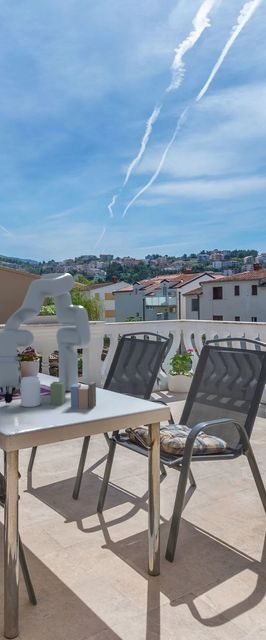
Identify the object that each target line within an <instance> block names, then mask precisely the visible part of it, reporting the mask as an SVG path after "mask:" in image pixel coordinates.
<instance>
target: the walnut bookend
mask: <svg viewBox="0 0 266 640" xmlns="http://www.w3.org/2000/svg"><path fill="white" fill-rule="evenodd" d="M87 385H88V386H87V387H88V399H89V408H88V409H94V408H96V406H97V381H91V382H89V383H88V384H87Z"/></svg>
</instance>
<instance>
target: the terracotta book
mask: <svg viewBox="0 0 266 640" xmlns="http://www.w3.org/2000/svg"><path fill="white" fill-rule="evenodd" d="M77 409H90V408H89V399H88V386H82V385H81V387H80V388H79V389H78V408H77Z"/></svg>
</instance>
